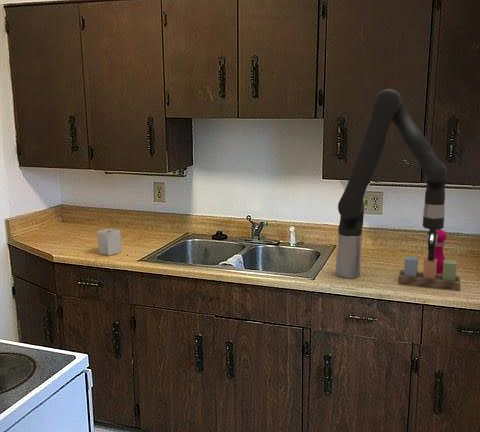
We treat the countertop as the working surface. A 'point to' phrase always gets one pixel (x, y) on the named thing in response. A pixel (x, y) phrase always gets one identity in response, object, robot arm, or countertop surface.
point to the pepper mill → (440, 251)
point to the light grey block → (109, 241)
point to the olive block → (449, 270)
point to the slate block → (410, 266)
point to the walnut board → (429, 281)
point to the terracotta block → (430, 268)
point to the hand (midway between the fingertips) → (430, 259)
